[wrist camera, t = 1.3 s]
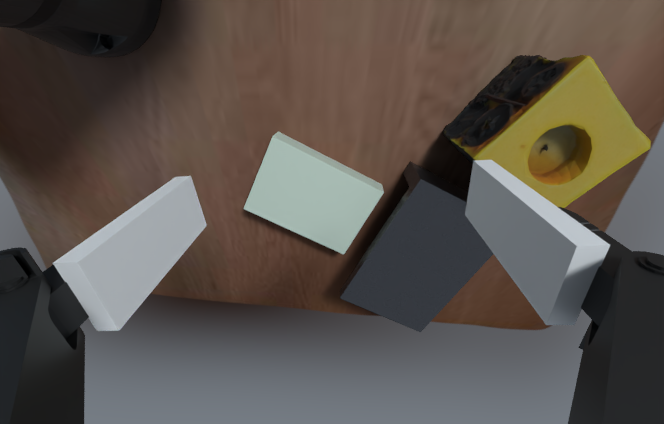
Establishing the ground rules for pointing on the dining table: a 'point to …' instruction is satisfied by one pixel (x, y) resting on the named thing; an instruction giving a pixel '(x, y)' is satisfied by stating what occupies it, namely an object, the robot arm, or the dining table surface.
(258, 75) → the dining table surface
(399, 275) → the riser
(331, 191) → the mint green panel
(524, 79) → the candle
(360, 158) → the dining table surface
